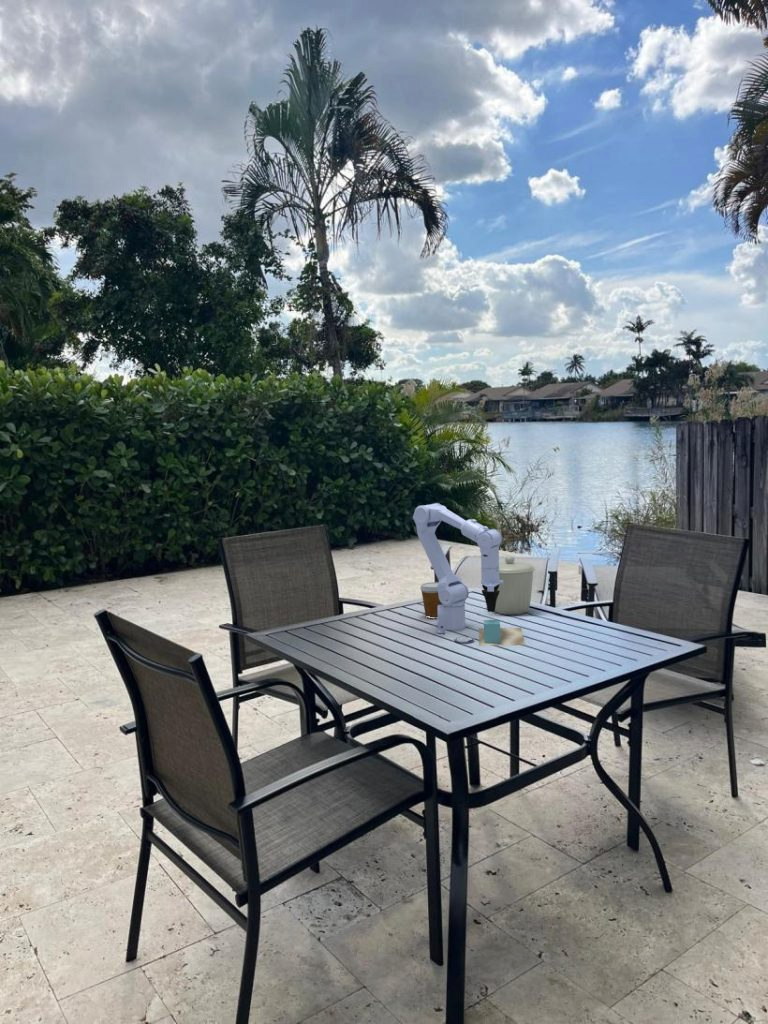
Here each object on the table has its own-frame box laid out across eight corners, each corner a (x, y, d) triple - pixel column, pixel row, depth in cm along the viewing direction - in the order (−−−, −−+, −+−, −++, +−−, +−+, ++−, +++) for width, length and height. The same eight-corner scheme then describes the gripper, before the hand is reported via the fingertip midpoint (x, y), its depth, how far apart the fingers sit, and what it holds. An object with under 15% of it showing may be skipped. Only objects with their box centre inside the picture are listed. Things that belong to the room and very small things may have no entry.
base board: (479, 649, 224) (478, 634, 223) (478, 631, 243) (478, 618, 243) (525, 648, 222) (525, 633, 221) (521, 631, 242) (520, 617, 241)
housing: (484, 643, 226) (483, 624, 225) (484, 638, 231) (483, 620, 230) (500, 642, 225) (500, 623, 225) (500, 638, 230) (499, 619, 230)
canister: (522, 620, 256) (520, 561, 254) (477, 614, 267) (475, 557, 265) (544, 609, 270) (543, 553, 268) (500, 604, 281) (499, 550, 279)
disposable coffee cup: (418, 615, 270) (417, 583, 269) (443, 612, 272) (442, 581, 270) (424, 621, 261) (423, 588, 259) (450, 618, 262) (449, 586, 261)
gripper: (503, 571, 227) (504, 614, 228) (502, 563, 241) (503, 603, 242) (480, 571, 228) (481, 614, 229) (480, 563, 242) (481, 603, 243)
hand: (491, 608), depth 236 cm, fingers open, 7 cm apart
